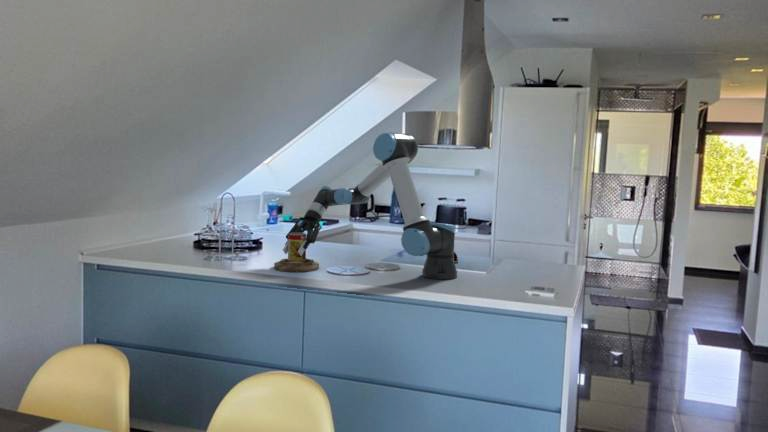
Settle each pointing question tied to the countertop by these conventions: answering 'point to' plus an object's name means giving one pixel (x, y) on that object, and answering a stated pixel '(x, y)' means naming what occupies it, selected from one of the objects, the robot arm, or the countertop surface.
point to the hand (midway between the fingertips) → (292, 252)
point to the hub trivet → (296, 266)
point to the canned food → (296, 246)
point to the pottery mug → (455, 257)
